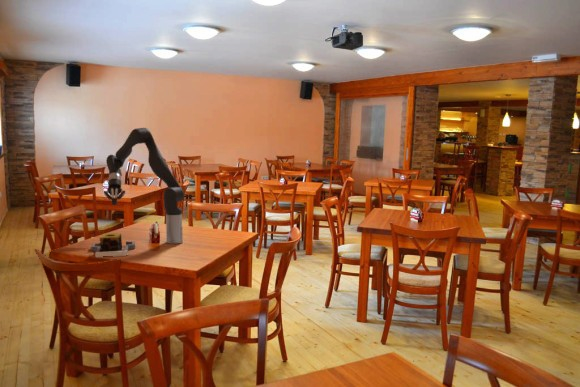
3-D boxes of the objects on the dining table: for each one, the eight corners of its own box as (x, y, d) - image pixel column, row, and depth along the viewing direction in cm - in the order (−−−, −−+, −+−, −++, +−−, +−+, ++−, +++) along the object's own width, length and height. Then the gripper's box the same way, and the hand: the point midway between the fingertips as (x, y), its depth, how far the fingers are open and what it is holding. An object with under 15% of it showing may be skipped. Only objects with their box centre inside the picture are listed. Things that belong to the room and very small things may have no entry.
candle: (119, 255, 262) (118, 237, 261) (99, 255, 261) (99, 237, 259) (122, 250, 272) (122, 232, 271) (103, 250, 271) (103, 233, 269)
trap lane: (135, 245, 284) (135, 240, 283) (134, 255, 262) (134, 250, 262) (92, 247, 277) (92, 243, 277) (88, 257, 256) (88, 253, 256)
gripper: (102, 178, 297) (102, 201, 287) (125, 177, 301) (125, 200, 291) (104, 185, 303) (103, 208, 293) (126, 185, 307) (126, 207, 297)
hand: (114, 204), depth 292 cm, fingers closed
